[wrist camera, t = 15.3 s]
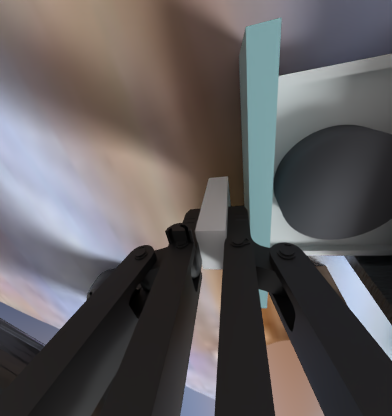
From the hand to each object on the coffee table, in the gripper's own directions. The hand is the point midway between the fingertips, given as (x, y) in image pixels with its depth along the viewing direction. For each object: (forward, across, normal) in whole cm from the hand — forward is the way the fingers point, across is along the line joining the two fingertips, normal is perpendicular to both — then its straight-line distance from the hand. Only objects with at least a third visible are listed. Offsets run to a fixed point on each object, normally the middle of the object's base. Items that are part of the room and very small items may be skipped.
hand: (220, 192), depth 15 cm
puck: (+1, +8, 0) cm, 8 cm away
